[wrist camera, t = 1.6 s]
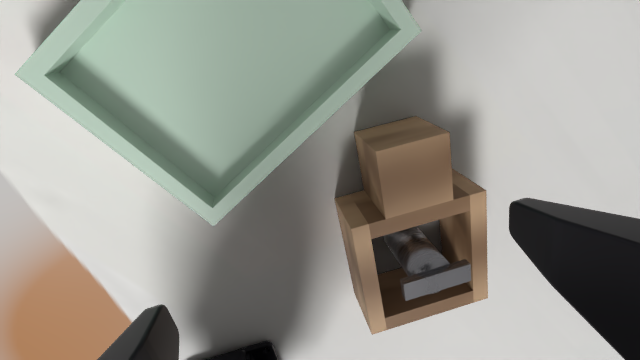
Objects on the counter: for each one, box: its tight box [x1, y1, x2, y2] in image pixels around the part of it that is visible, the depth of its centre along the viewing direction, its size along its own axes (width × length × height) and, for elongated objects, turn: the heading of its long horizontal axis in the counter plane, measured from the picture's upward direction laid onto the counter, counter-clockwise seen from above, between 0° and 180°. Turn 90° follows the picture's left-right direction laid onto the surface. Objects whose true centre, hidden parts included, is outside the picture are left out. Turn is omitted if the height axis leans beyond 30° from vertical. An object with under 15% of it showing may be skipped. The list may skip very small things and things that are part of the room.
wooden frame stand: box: [335, 116, 488, 334], centre depth 22 cm, size 12×8×4 cm, turn 12°
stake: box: [383, 226, 471, 301], centre depth 23 cm, size 2×4×6 cm, turn 102°
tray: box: [15, 0, 422, 227], centre depth 18 cm, size 15×11×2 cm
